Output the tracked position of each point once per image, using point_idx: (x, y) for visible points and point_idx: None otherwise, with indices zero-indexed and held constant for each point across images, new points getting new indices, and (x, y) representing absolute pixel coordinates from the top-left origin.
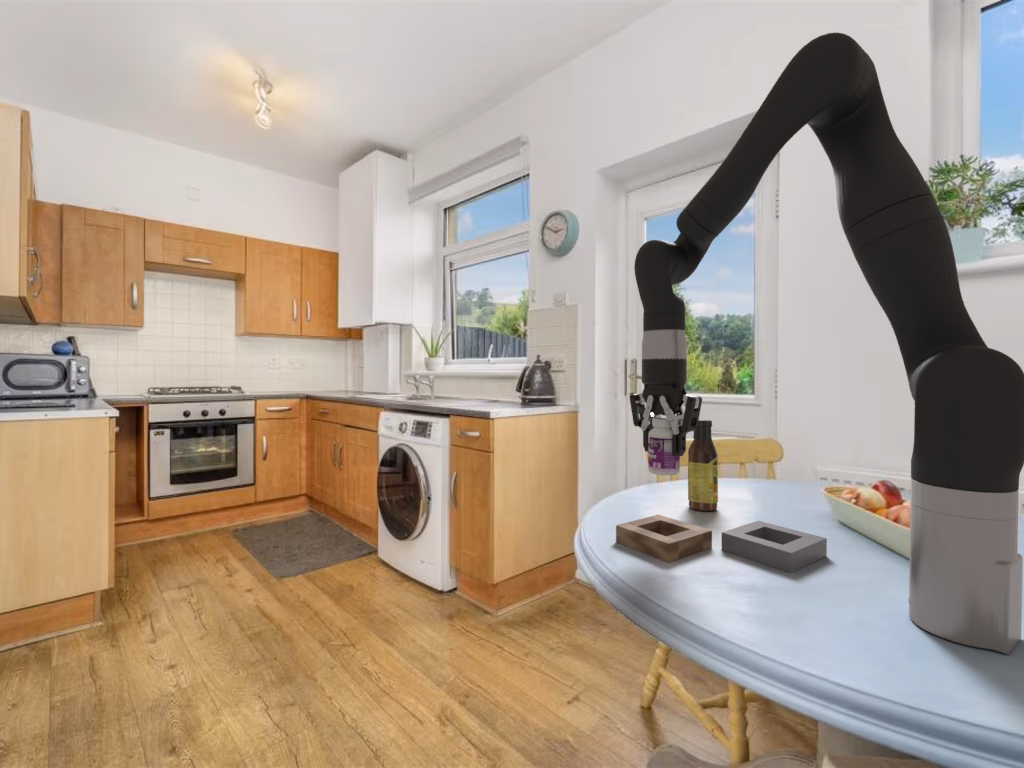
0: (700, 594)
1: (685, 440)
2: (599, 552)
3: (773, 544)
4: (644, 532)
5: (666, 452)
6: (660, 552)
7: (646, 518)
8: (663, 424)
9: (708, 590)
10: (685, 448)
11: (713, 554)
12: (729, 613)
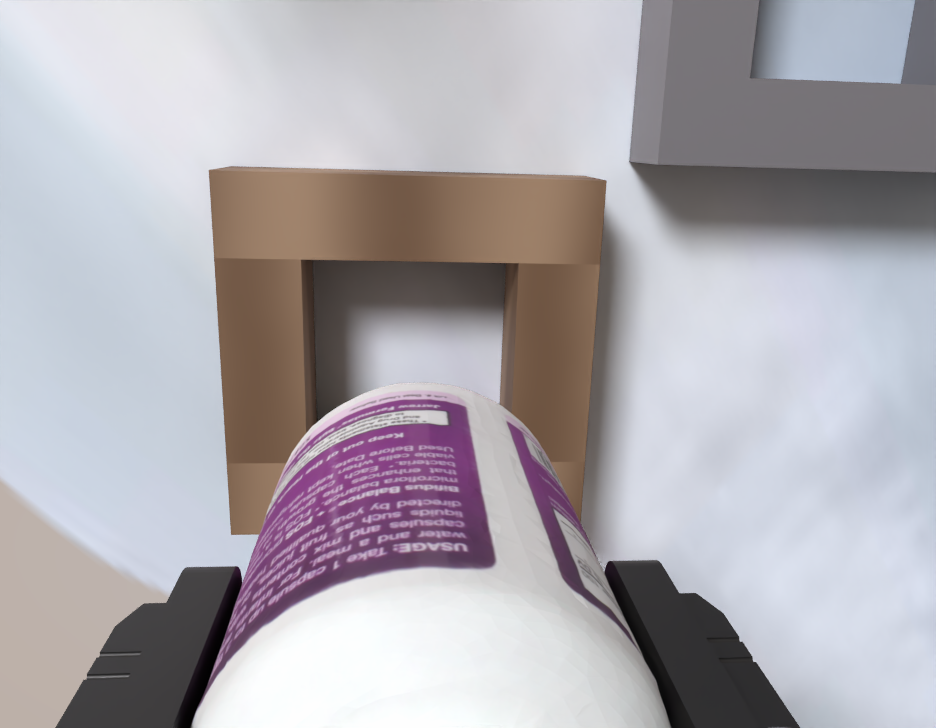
0: (787, 615)
1: (777, 705)
2: None
3: (924, 122)
4: None
5: None
6: None
7: (231, 304)
8: None
9: (791, 571)
10: (728, 630)
11: (634, 251)
12: (903, 645)
